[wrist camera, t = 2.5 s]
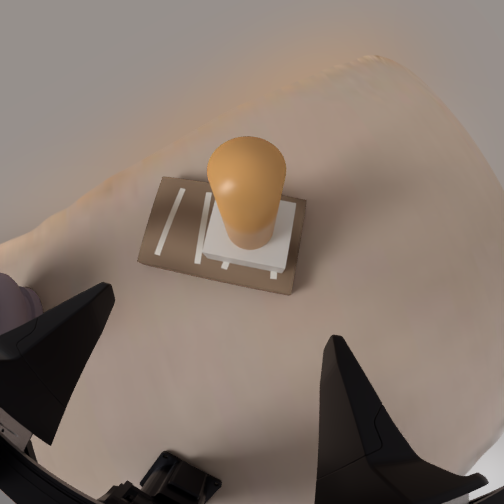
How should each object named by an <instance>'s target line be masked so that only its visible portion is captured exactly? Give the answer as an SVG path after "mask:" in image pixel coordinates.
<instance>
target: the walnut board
mask: <svg viewBox="0 0 504 504" xmlns="http://www.w3.org/2000/svg"><path fill="white" fill-rule="evenodd" d="M280 200H282V201H287V202H292V203H296V209H295V215H294V221H293V227H292V233H291V239H290V244H289V250H288V256H287V261H286V267H285V270H284V271H283V272H282V273H278V272H273V271H268V270H263V269H257V268H252V267H247V266H242V265H237V264H232V263H228V262H223V261H218V260H213V259H208V258H207V257H206V256H205V255H204V254H203V253H202V250H203V246H204V242H205V237H206V233H207V229H208V226H209V222H210V218H211V214H212V210H213V206H214V202H215V197H214V194H213V191H212V189H211V186H210V183H208V182H201V181H194V180H187V179H179V178H171V177H162V180H161V183H160V186H159V189H158V192H157V195H156V198H155V201H154V204H153V207H152V210H151V214H150V217H149V220H148V224H147V227H146V230H145V234H144V237H143V241H142V245H141V248H140V252H139V256H138V260H137V262H140V263H142V264H144V265H149V266H153V267H157V268H161V269H165V270H170V271H174V272H178V273H183V274H187V275H192V276H196V277H201V278H205V279H210V280H215V281H219V282H224V283H229V284H234V285H238V286H243V287H248V288H253V289H258V290H263V291H268V292H273V293H279V294H284V295H291V291H292V285H293V280H294V274H295V269H296V263H297V257H298V251H299V245H300V239H301V233H302V227H303V220H304V214H305V207H306V200H303V199H298V198H293V197H288V196H283V195H281V199H280Z"/></svg>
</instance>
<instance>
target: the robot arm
mask: <svg viewBox="0 0 504 504" xmlns="http://www.w3.org/2000/svg"><path fill="white" fill-rule="evenodd" d="M114 303H115V297H114V293H113V289H112V286H111V284H108V283H105V282H101V283H99V284H97V285H95V286H93V287H92V288H90V289H88V290H86V291H84V292H82V293H80V294H78V295H76V296H74V297H72V298H71V299H69V300H67V301H65V302H63V303H61V304H59V305H58V306H56V307H54V308H52V309H50V310H48V311H47V312H45V313H43V314H41V315H39V317H36V318H34V319H32V320H30V321H28V322H27V323H25V324H23V325H21V326H19V327H17V328H14V329H12V330H10V331H8V332H6V333H4V334H1V335H0V489H1V490H2V491H3V492H4V493H5V494H6V495H8V496H9V497H10V498H11V499H12V500H13V501H14V502H15V503H17V504H205V503H206V502H207V501H208V500H209V499H210V498H211V497H212V496H213V495H214V494H215V492H216V491H217V490H218V489H219V488H220V487H221V486H222V482H221V481H220V480H219V479H217V478H215V477H213V476H211V475H209V474H207V473H205V472H203V471H201V470H199V469H198V468H196V467H194V466H192V465H190V464H188V463H187V462H185V461H182V460H181V459H179V458H177V457H176V456H174V455H172V454H171V453H169V452H167V451H163V452H162V453H161V454H160V456H159V457H158V459H157V460H156V461H155V463H154V464H153V465H152V467H151V468H150V470H149V471H148V472H147V474H146V475H145V476H144V478H143V479H142V480H141V482H140V485H141V486H142V488H141V490H140V489H138V488H137V487H135V486H134V485H132V483H131V482H129V481H128V480H127V481H126V482H125V483H124V485H123V484H122V483H121V484H120V485H119V486H113V487H112V488H111V489H110V490H109V491H108V492H107V493H106V494H105V495H103V496H102V497H100V498H99V499H97V500H95V499H94V498H92V497H90V496H88V495H86V494H84V493H83V492H81V491H79V490H77V489H76V488H74V487H72V486H71V485H69V484H67V483H66V482H64V481H63V480H61V479H60V478H58V477H57V476H55V475H54V474H52V473H51V472H49V471H48V470H46V469H45V468H44V467H42V466H41V465H40V464H38V463H37V460H36V456H35V453H34V450H33V446H32V442H31V440H30V439H31V437H32V435H33V434H34V435H35V436H37V437H38V438H40V439H41V440H43V441H44V442H45V443H47V444H48V445H50V446H51V444H52V442H53V440H54V437H55V434H56V432H57V429H58V426H59V424H60V421H61V419H62V416H63V414H64V412H65V409H66V407H67V404H68V402H69V400H70V397H71V395H72V393H73V391H74V388H75V386H76V384H77V382H78V380H79V378H80V375H81V373H82V371H83V369H84V367H85V365H86V363H87V361H88V359H89V357H90V355H91V353H92V351H93V349H94V347H95V345H96V343H97V341H98V339H99V338H100V336H101V334H102V332H103V329H104V327H105V324H106V322H107V320H108V317H109V315H110V312H111V310H112V308H113V305H114ZM164 455H166V456H167V457H165V456H164ZM215 483H218V484H215ZM488 483H489V482H488V480H487V479H486V478H485V477H484V476H483V475H481V474H479V473H475V474H472V475H470V476H459V475H456V474H453V473H451V472H449V471H446V470H444V469H442V468H439V467H437V466H435V465H433V464H430V463H428V462H426V461H424V460H423V459H421V458H420V457H419V456H418V455H417V454H416V453H415V452H414V451H413V449H412V448H411V447H410V445H409V444H408V442H407V441H406V440H405V438H404V437H403V435H402V434H401V433H400V431H399V430H398V428H397V427H396V425H395V424H394V422H393V421H392V419H391V418H390V416H389V414H388V413H387V411H386V409H385V407H384V406H383V405H382V402H381V401H380V399H379V397H378V395H377V394H376V392H375V390H374V388H373V387H372V385H371V383H370V382H369V380H368V378H367V377H366V375H365V373H364V371H363V370H362V368H361V366H360V365H359V363H358V361H357V360H356V358H355V356H354V355H353V353H352V351H351V350H350V348H349V346H348V345H347V343H346V342H345V340H344V338H343V337H342V336H339V335H332V336H331V337H330V339H329V340H328V342H327V344H326V346H325V348H324V352H323V362H322V371H321V380H320V410H319V446H318V466H317V480H316V492H315V503H314V504H504V486H503V487H501V488H499V489H496V490H494V491H492V492H490V493H488V494H485V495H483V496H480V497H478V498H476V499H473V500H470V501H469V494H468V493H470V492H472V491H474V490H476V489H478V488H481V487H483V486H485V485H487V484H488Z"/></svg>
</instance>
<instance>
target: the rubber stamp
mask: <svg viewBox="0 0 504 504" xmlns="http://www.w3.org/2000/svg"><path fill="white" fill-rule="evenodd" d="M207 176H208V180H209V183H210V186H211V189H212V191H213V194H214V197H215V202H214V206H213V210H212V214H211V218H210V222H209V226H208V229H207V233H206V237H205V242H204V246H203V250H202V253H203V254H204V255H205V256H206V257H207V258H208V259H213V260H218V261H223V262H228V263H232V264H237V265H242V266H247V267H252V268H257V269H263V270H268V271H273V272H278V273H282V272H283V271H284V270H285V267H286V261H287V256H288V250H289V244H290V239H291V233H292V227H293V221H294V215H295V209H296V203H292V202H287V201H282V200H280V199H281V195H282V190H283V185H284V181H285V176H286V164H285V160H284V157H283V156H282V154H281V152H280V151H279V150H278V149H277V148H276V147H275V146H274V145H273V144H271V143H270V142H268V141H266V140H264V139H261V138H257V137H250V136H248V137H238V138H234V139H231V140H229V141H227V142H225V143H223V144H222V145H220V146H219V147H218V148H217V149H216V150H215V151H214V153H213V154H212V156H211V157H210V160H209V162H208V166H207Z"/></svg>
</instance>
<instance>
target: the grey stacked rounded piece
mask: <svg viewBox="0 0 504 504" xmlns="http://www.w3.org/2000/svg"><path fill="white" fill-rule="evenodd" d="M41 314H43V309H42V305H41V302H40V299H39V297H38V295H37V294H36V292H35V291H33V290H32V289H31V288H26V287H20V286H18V285H17V283H16V282H15V281H14V280H13V279H12V278H11V277H10V276H8V275H7V274H3V273H0V335H1V334H4V333H6V332H8V331H10V330H12V329H14V328H17V327H19V326H21V325H23V324H25V323H27V322H28V321H30V320H32V319H34V318H36V317H39V315H41Z"/></svg>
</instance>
